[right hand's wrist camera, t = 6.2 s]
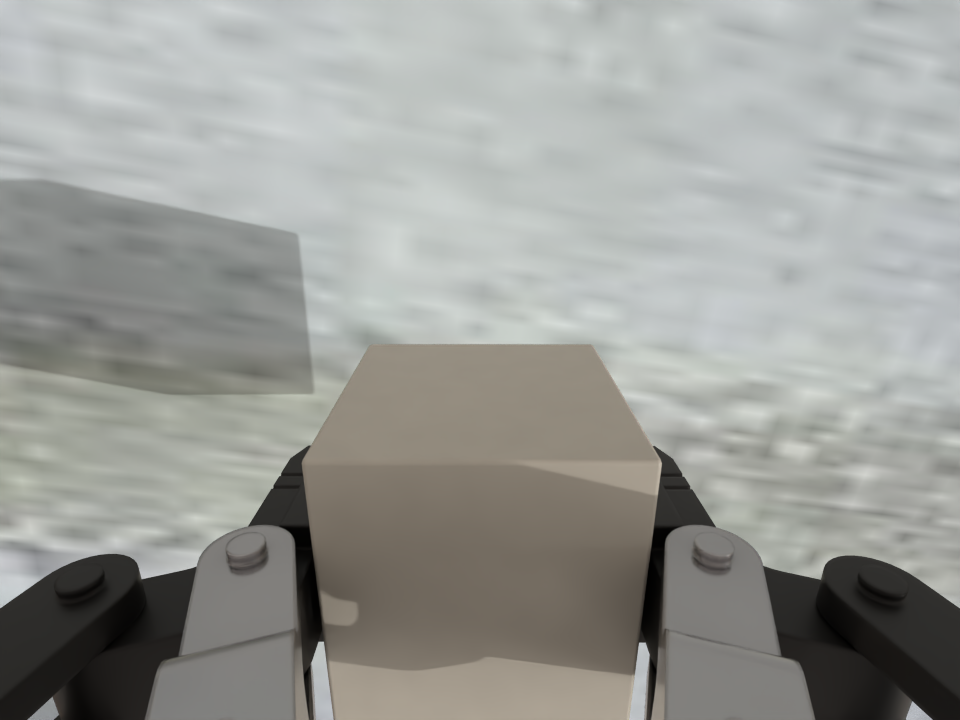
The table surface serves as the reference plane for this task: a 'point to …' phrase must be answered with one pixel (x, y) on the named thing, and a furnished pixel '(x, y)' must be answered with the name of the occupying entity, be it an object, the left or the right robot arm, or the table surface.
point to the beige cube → (481, 535)
